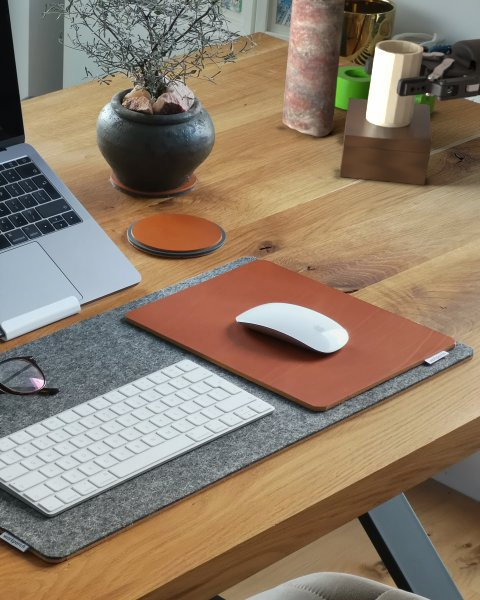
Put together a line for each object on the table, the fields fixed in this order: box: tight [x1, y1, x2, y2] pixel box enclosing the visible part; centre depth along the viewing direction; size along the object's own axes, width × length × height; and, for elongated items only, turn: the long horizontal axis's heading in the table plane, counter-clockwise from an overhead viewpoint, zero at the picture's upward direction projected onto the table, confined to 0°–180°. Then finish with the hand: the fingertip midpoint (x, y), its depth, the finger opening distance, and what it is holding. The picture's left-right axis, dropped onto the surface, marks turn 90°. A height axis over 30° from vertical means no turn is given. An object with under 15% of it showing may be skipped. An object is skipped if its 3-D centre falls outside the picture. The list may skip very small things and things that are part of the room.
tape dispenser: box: [335, 65, 437, 115], centre depth 169 cm, size 15×7×5 cm, turn 54°
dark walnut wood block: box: [338, 98, 433, 186], centre depth 152 cm, size 11×14×6 cm
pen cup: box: [366, 39, 423, 127], centre depth 148 cm, size 6×6×10 cm
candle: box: [282, 0, 346, 138], centre depth 158 cm, size 8×7×20 cm
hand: (382, 77), depth 147 cm, fingers open, 8 cm apart
